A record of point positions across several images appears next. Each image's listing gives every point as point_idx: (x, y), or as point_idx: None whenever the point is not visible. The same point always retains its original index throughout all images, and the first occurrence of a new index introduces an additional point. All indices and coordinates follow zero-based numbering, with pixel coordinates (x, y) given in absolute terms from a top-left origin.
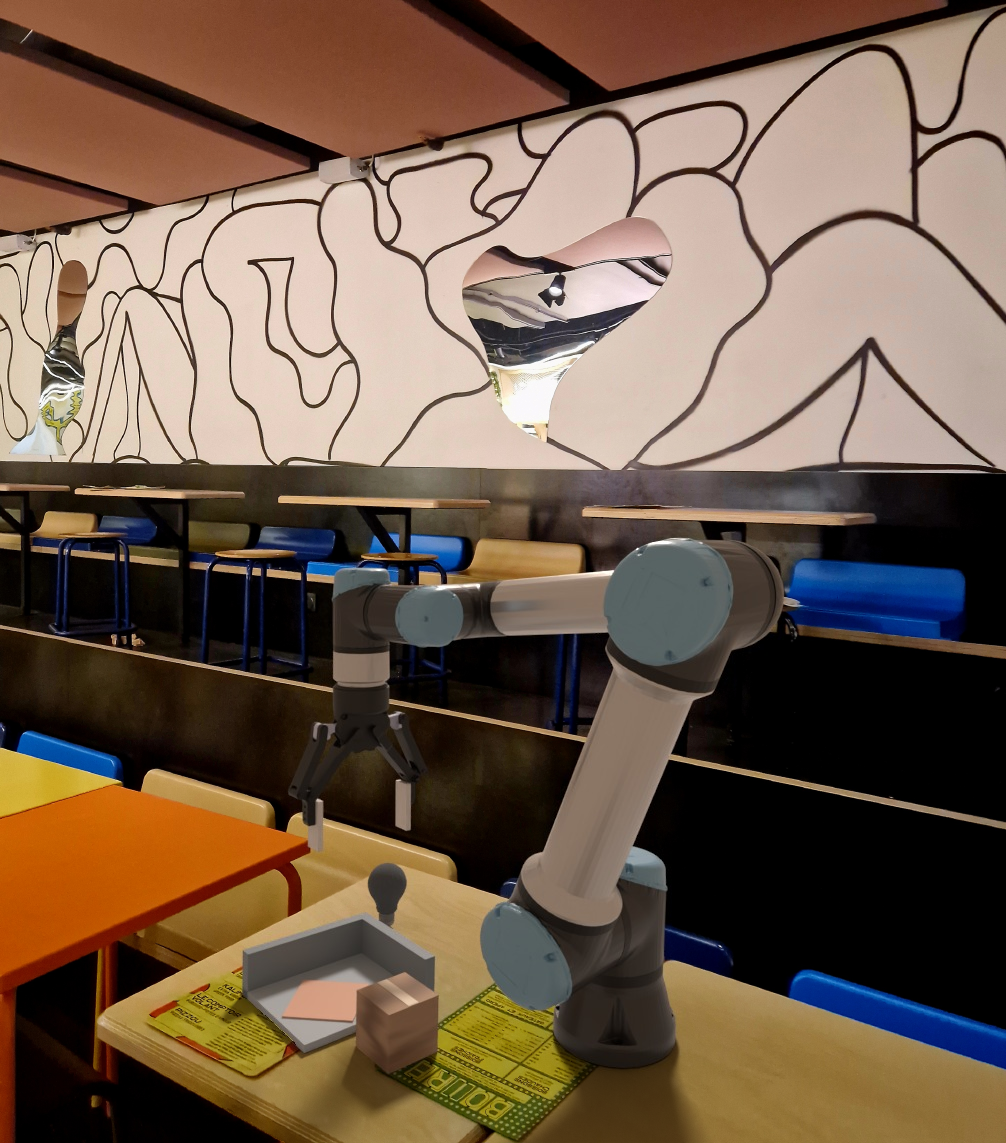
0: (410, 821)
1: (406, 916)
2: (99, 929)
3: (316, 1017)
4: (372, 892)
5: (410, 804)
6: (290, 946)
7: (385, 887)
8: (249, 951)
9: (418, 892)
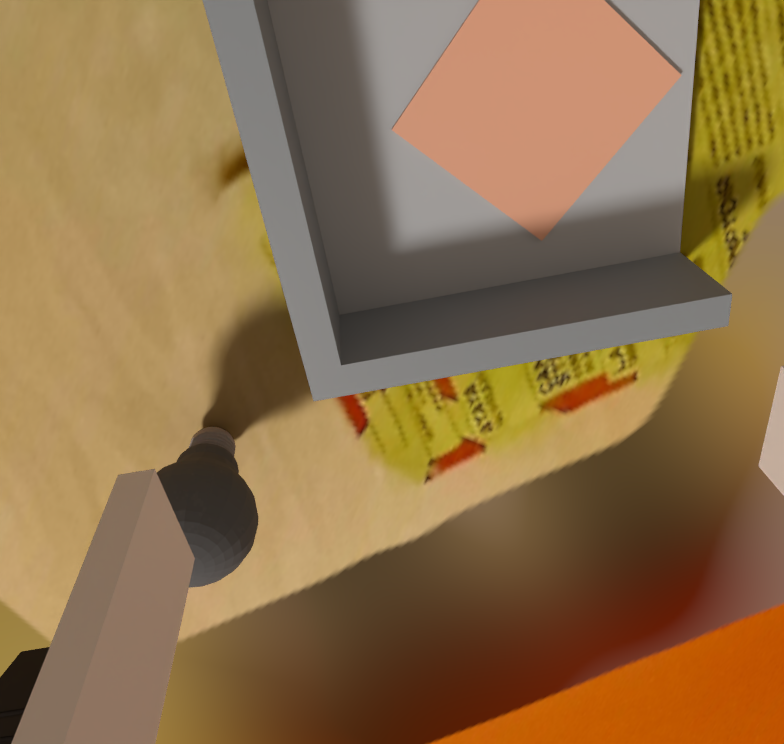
0: (103, 516)
1: (145, 465)
2: (754, 618)
3: (608, 13)
4: (252, 497)
5: (60, 626)
6: (588, 311)
7: (215, 487)
8: (719, 309)
9: (75, 562)
